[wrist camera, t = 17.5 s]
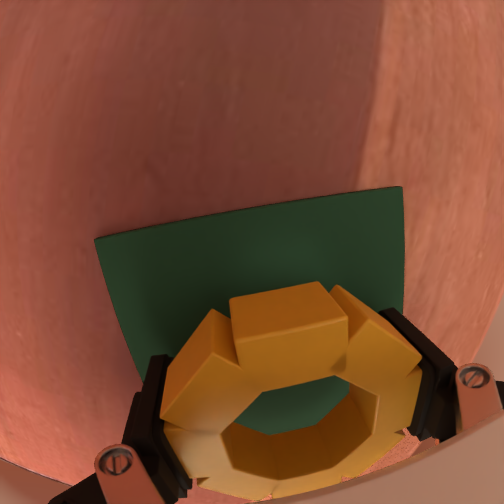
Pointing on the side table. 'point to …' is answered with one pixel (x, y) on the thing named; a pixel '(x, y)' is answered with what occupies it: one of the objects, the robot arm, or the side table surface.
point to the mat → (255, 278)
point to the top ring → (283, 375)
